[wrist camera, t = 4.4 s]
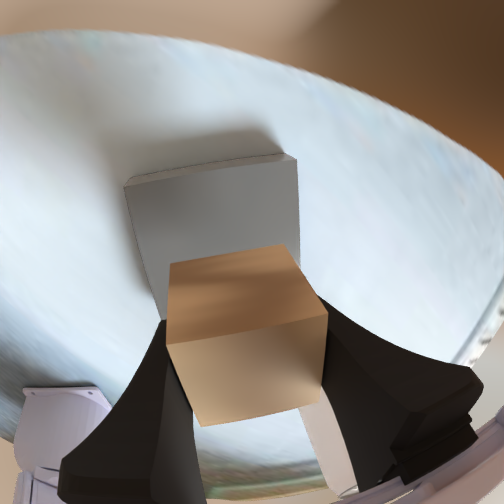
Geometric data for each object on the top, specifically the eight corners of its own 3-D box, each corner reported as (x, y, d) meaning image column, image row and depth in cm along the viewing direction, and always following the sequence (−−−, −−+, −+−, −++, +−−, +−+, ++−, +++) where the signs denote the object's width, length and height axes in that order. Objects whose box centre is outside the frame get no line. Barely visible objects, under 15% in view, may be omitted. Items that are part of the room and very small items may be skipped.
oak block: (193, 345, 14) (200, 427, 10) (170, 263, 12) (165, 344, 8) (286, 328, 14) (318, 401, 10) (283, 243, 12) (328, 313, 8)
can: (331, 407, 31) (370, 493, 21) (284, 407, 29) (318, 506, 18) (364, 370, 29) (416, 461, 18) (315, 366, 27) (366, 476, 16)
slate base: (163, 306, 20) (162, 324, 19) (130, 177, 16) (123, 187, 14) (291, 282, 21) (300, 299, 20) (285, 153, 17) (296, 159, 15)
